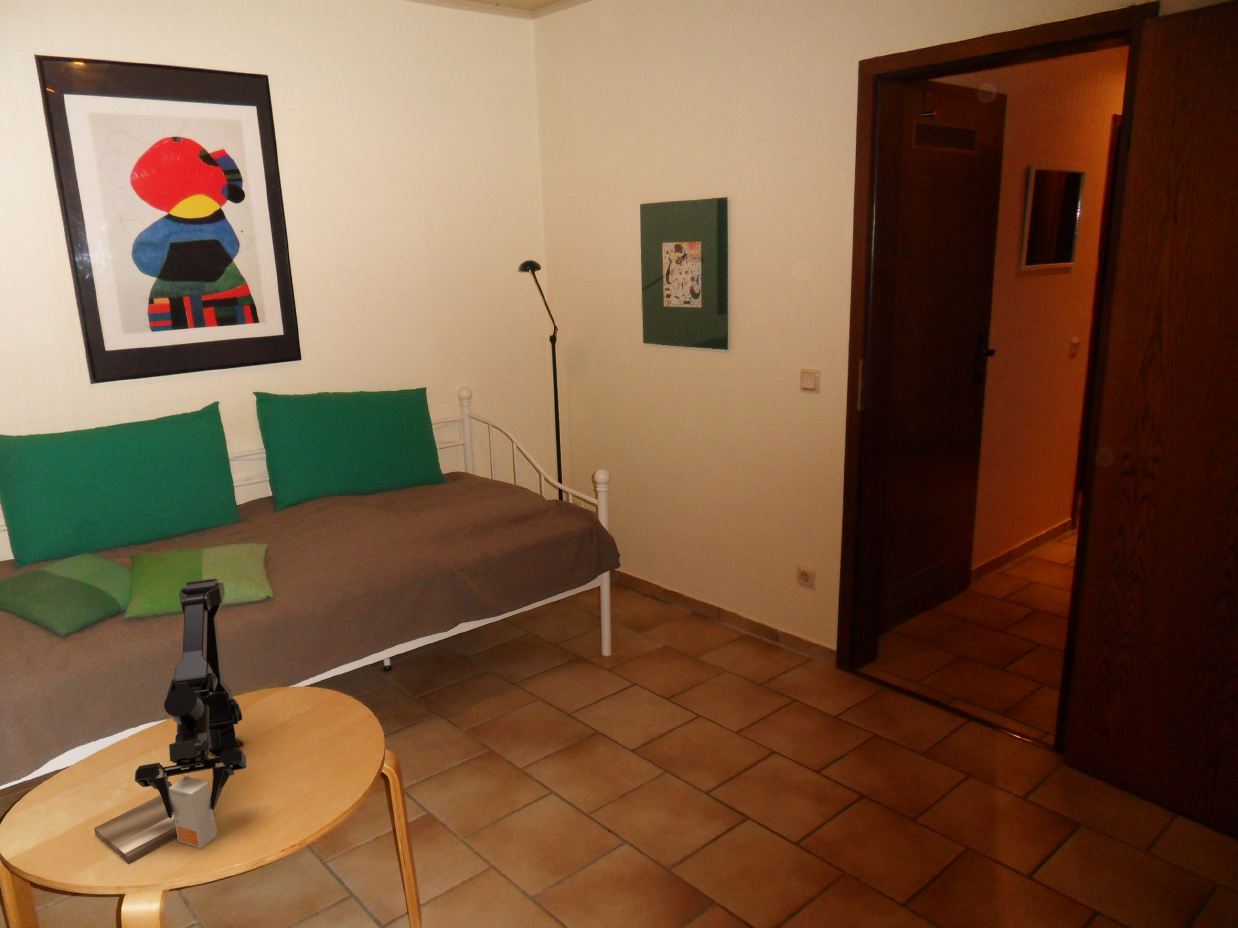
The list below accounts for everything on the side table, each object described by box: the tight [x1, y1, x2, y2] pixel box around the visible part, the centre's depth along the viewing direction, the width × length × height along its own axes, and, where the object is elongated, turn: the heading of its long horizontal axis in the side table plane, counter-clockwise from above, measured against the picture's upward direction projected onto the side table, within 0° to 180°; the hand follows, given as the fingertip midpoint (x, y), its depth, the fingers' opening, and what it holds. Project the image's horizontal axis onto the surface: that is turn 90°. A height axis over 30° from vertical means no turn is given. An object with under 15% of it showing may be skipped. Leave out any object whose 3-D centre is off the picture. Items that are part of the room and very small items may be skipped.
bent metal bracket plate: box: [93, 794, 216, 864], centre depth 169 cm, size 14×16×2 cm
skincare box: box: [169, 775, 218, 849], centre depth 163 cm, size 6×4×12 cm
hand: (191, 813), depth 162 cm, fingers closed on skincare box, 7 cm apart
